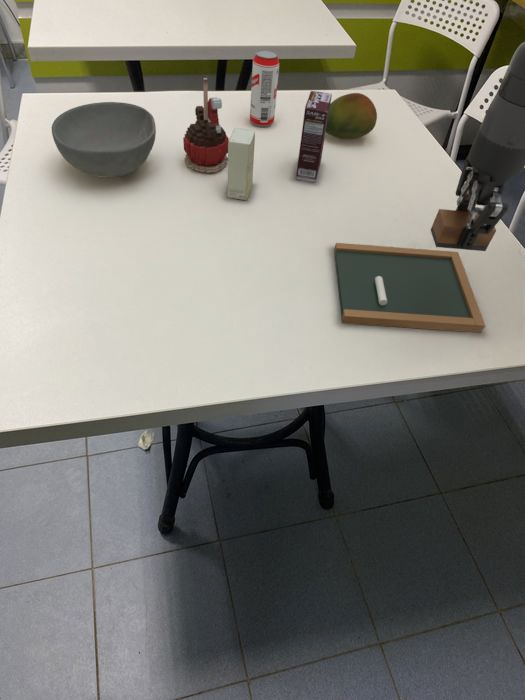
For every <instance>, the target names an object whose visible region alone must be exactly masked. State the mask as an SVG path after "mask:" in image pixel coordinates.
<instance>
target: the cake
mask: <svg viewBox="0 0 525 700" xmlns="http://www.w3.org/2000/svg"><path fill="white" fill-rule="evenodd" d="M202 80H203V81H202V84H203V85H202V87H203V88H202V89H203V90H202V91H203V105H197V106H195V108H194V113H195V116H196V117H195V118H196V120H195V123H190V125H189V127H187V128H186V129H187V130H185V133H184V137H183V139H182V140H183V150H184V152H185V157H183V158H184V160H183V161H184V163H185V165H186V166H187V167H188V168H190V167H191V169H192V170H195V171H199V172H200V173H203V172H206V173H214V172H219V170H223V169H224V168H225V167H226V166H228V141H229V139H230V137H228V135H227V132H226V130H225V129H224V128H223V127H222V126H221V124H220V121H219V120H220V119H219V114H218V112H219V111H218V110H220V109H222V108H223V102H222V98H221V97H209V93H208V90H209V84H208V83H209V81H208V77H203V78H202Z"/></svg>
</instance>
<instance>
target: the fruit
mask: <svg viewBox="0 0 525 700" xmlns="http://www.w3.org/2000/svg"><path fill="white" fill-rule="evenodd" d="M377 120H378V113H377V108H376V106H375V104H374V102H373V101H372V100H371V99H370V97H368V96H367V95H365V94H363V93H360V92H351V93H346V94H343V95H341V96H339V97H337V98H336V99H334V100H332V102H331V103H330V109H329V115H328V121H327V127H326V133H327V134H328V135H329V136H331V137H334V138H337V139H342V140H354V139H355V140H356V139H359V138H363V137H365V136H366V135H369V134H370V133H371V132H372V131H373V130H374V128H375V127H376V125H377Z"/></svg>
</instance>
